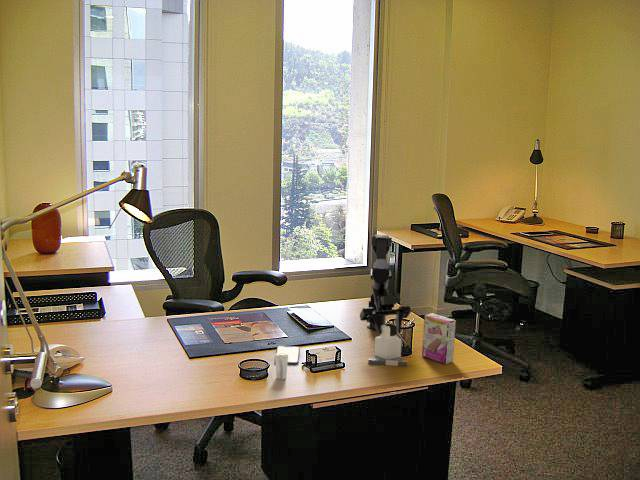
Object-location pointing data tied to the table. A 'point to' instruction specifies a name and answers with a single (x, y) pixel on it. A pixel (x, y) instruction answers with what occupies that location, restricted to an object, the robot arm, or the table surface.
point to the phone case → (290, 354)
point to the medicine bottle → (388, 343)
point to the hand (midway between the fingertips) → (390, 333)
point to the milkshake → (281, 365)
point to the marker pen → (387, 362)
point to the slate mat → (391, 359)
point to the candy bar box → (438, 338)
